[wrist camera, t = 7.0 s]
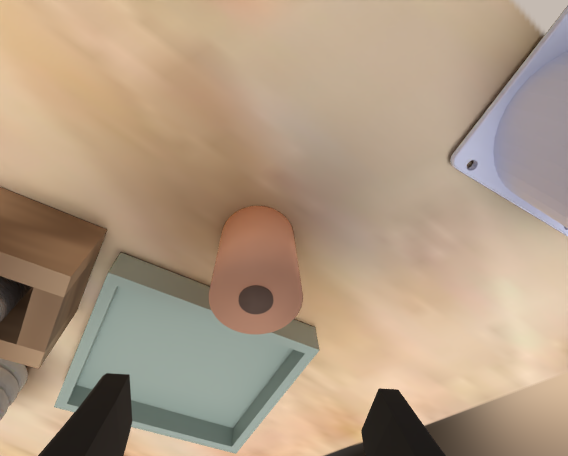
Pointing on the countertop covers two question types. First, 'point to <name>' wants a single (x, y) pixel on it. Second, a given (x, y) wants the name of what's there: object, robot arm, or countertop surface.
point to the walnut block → (42, 273)
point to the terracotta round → (256, 272)
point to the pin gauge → (10, 295)
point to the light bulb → (10, 383)
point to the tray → (183, 358)
